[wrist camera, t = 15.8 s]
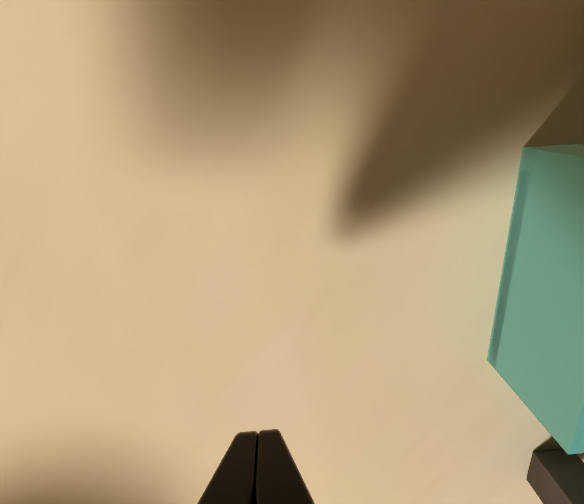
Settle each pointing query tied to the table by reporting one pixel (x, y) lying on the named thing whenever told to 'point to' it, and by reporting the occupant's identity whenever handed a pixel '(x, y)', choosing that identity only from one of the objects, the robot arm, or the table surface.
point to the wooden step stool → (557, 477)
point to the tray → (545, 293)
